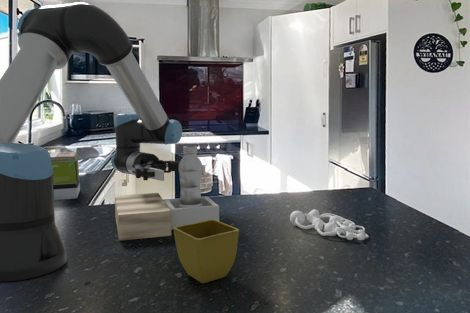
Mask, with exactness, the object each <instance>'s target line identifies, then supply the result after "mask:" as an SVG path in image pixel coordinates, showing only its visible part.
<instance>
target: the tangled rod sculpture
mask: <svg viewBox="0 0 470 313" xmlns="http://www.w3.org/2000/svg"><path fill="white" fill-rule="evenodd" d="M305 217H306V218H305ZM323 218H329V219H328V220H329V221H328V222H324V221H323V220H322V219H323ZM306 219H307V221H308V222H309V223H311V224H309V225H303V224H304V223H305V220H306ZM289 220H290V222H291V224H292V225H294V226H297V227H298V228H301V229H304V230H308V229H315V231H316V232H318V234H320V236H323V237H324V236H326V237H327V236H328V237H334V236H336V235H338V237H340V238H344V239H345V238H346V239H347V240H349V241H353V239H354V238H355V239H357V240H358V241H364V240H365V239H366V238H367V239H368V238H369V237H370V236H369V235H368V234H367V233H366V232H365V231H366V228H365V227H364V226H362V225H356V223H355V222H354V221H351V220H350V219H346V218H344V217H343V216H339V215H337V214H334V213H330V212H326V213H322V214H320V212H319V210H318V209H311V211H309V212H308V213H304V212H302V211H301V210H294V211H292V212H291V213H290V216H289ZM356 228H359V229H358V230H356ZM322 230H323V231H322ZM341 234H343V235H341Z"/></svg>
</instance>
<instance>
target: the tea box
mask: <svg viewBox="0 0 470 313" xmlns="http://www.w3.org/2000/svg"><path fill="white" fill-rule="evenodd" d="M49 153H50V156H51V164H52V167H53V190H54V201H59V200H60V201H61V200H72V199H78V197H79V194H80V190H81V184H80V183H81V182H80V169H79V157H78V155H79V154H78V151H54V152H52V151H51V152H49Z"/></svg>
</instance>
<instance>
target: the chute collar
mask: <svg viewBox="0 0 470 313" xmlns="http://www.w3.org/2000/svg"><path fill="white" fill-rule="evenodd" d="M163 200H164V202H165V203H166V205H167V206H168V207H169V209H170V210H171V231H173V228H174V227H177V226H182V225H187V224H193V223H197V222H202V221H206V220H212V219H213V220H217V221H219V222H220V206H219V204H217V203H216V202H215V201H213V200H212V199H211V198H210V197H208V195H207V196H206V195H205V196H201V203H202V206H200V207H187V208H179V204H180V197H179V198H169V199H168V198H165V199H164V198H163Z"/></svg>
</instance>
